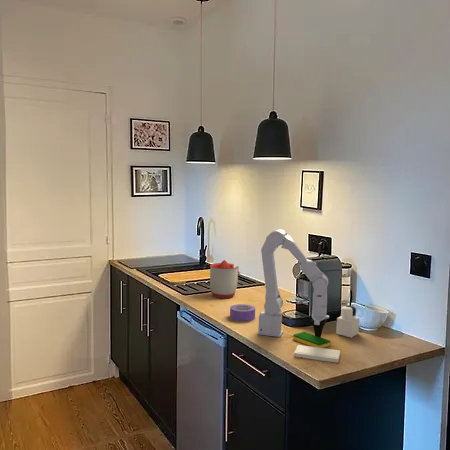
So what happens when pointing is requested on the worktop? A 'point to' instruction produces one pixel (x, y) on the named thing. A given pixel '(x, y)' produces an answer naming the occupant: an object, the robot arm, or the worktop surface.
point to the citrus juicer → (223, 279)
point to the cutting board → (317, 353)
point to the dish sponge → (311, 340)
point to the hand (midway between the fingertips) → (318, 337)
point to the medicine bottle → (347, 322)
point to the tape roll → (242, 312)
